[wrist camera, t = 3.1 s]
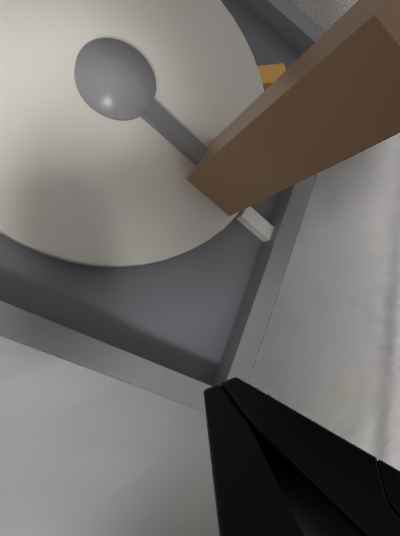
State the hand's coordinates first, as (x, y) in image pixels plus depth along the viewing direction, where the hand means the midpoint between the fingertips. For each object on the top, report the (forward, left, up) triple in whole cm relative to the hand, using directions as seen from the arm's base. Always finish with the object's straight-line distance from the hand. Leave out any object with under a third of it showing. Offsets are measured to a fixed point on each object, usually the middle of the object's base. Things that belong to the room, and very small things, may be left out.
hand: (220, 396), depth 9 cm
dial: (+9, +6, -6) cm, 12 cm away
